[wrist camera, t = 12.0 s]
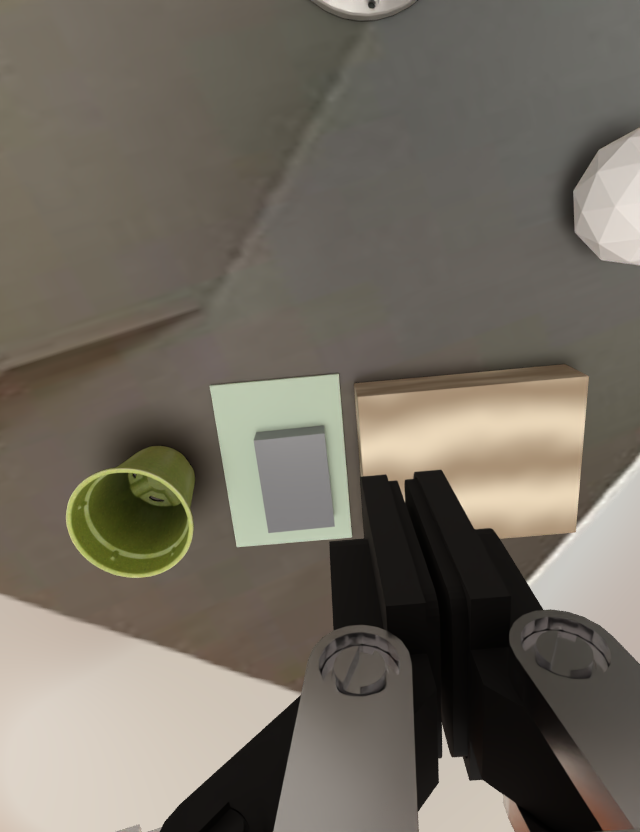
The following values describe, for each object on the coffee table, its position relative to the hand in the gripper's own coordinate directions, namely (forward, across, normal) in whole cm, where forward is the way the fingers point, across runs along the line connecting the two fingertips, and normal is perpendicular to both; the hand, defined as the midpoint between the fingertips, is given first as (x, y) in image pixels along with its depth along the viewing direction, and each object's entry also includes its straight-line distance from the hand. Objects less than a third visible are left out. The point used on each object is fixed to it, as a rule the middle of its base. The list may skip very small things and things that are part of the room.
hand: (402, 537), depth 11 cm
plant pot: (+33, +17, +13) cm, 40 cm away
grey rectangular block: (+31, +5, +14) cm, 34 cm away
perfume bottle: (+33, -23, -6) cm, 41 cm away
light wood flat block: (+33, -10, +13) cm, 37 cm away
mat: (+33, +6, +13) cm, 36 cm away
